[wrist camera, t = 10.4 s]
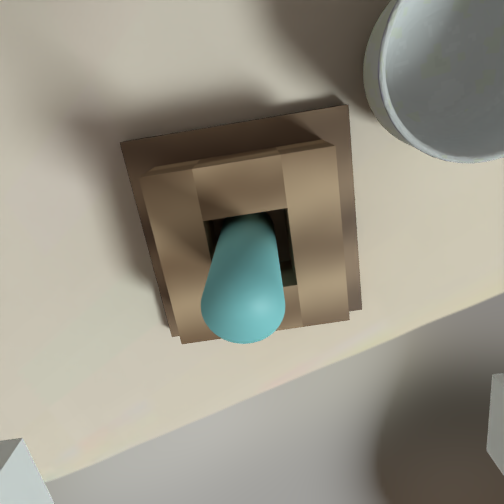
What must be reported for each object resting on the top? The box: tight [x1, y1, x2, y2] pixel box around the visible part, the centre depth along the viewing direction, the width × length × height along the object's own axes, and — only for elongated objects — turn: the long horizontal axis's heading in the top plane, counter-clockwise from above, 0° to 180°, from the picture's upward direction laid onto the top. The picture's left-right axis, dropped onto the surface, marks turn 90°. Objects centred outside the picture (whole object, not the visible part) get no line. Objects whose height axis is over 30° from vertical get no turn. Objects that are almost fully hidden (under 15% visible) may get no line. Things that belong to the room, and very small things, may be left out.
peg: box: [201, 211, 285, 344], centre depth 24 cm, size 4×4×12 cm
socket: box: [120, 105, 362, 344], centre depth 28 cm, size 16×16×6 cm
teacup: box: [363, 0, 504, 163], centre depth 23 cm, size 14×11×8 cm
